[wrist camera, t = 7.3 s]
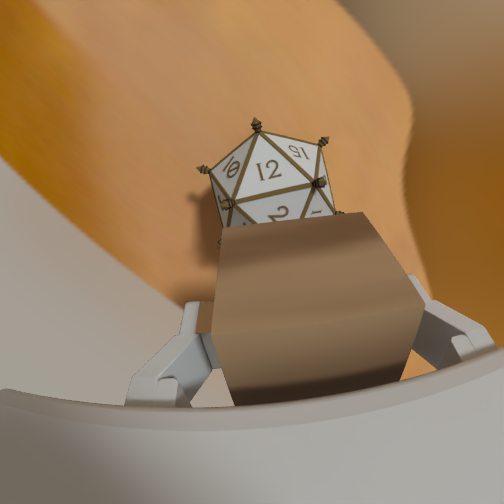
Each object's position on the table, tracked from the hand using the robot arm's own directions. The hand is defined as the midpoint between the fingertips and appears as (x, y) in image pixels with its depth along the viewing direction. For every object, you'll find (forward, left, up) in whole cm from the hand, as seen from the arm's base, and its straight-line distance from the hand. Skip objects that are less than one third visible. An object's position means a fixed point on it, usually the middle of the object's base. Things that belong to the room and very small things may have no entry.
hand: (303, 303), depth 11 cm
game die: (0, 0, -14) cm, 14 cm away
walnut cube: (0, 0, -2) cm, 2 cm away
